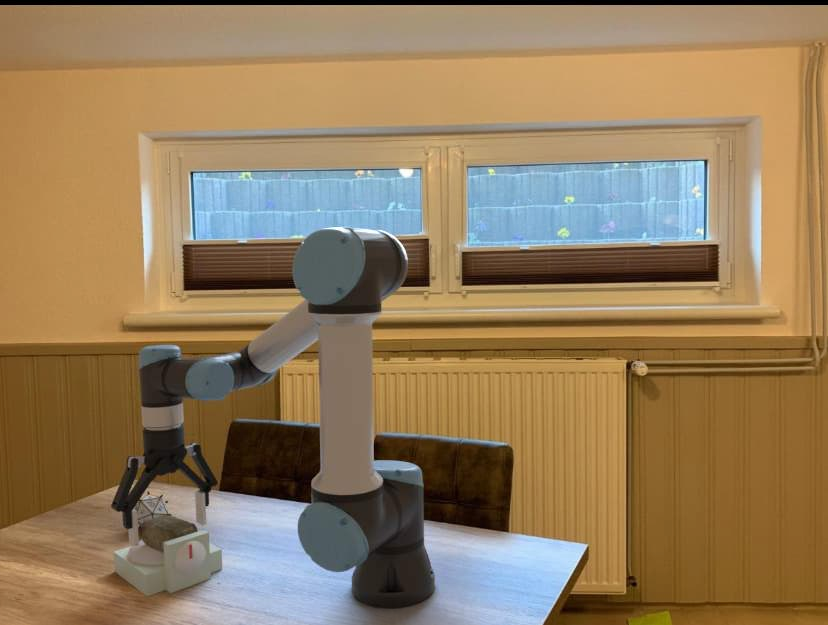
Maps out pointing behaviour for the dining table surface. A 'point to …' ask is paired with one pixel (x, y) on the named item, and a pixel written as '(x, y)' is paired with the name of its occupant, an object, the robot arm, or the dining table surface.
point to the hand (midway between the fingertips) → (168, 533)
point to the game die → (150, 508)
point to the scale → (169, 563)
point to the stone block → (165, 530)
